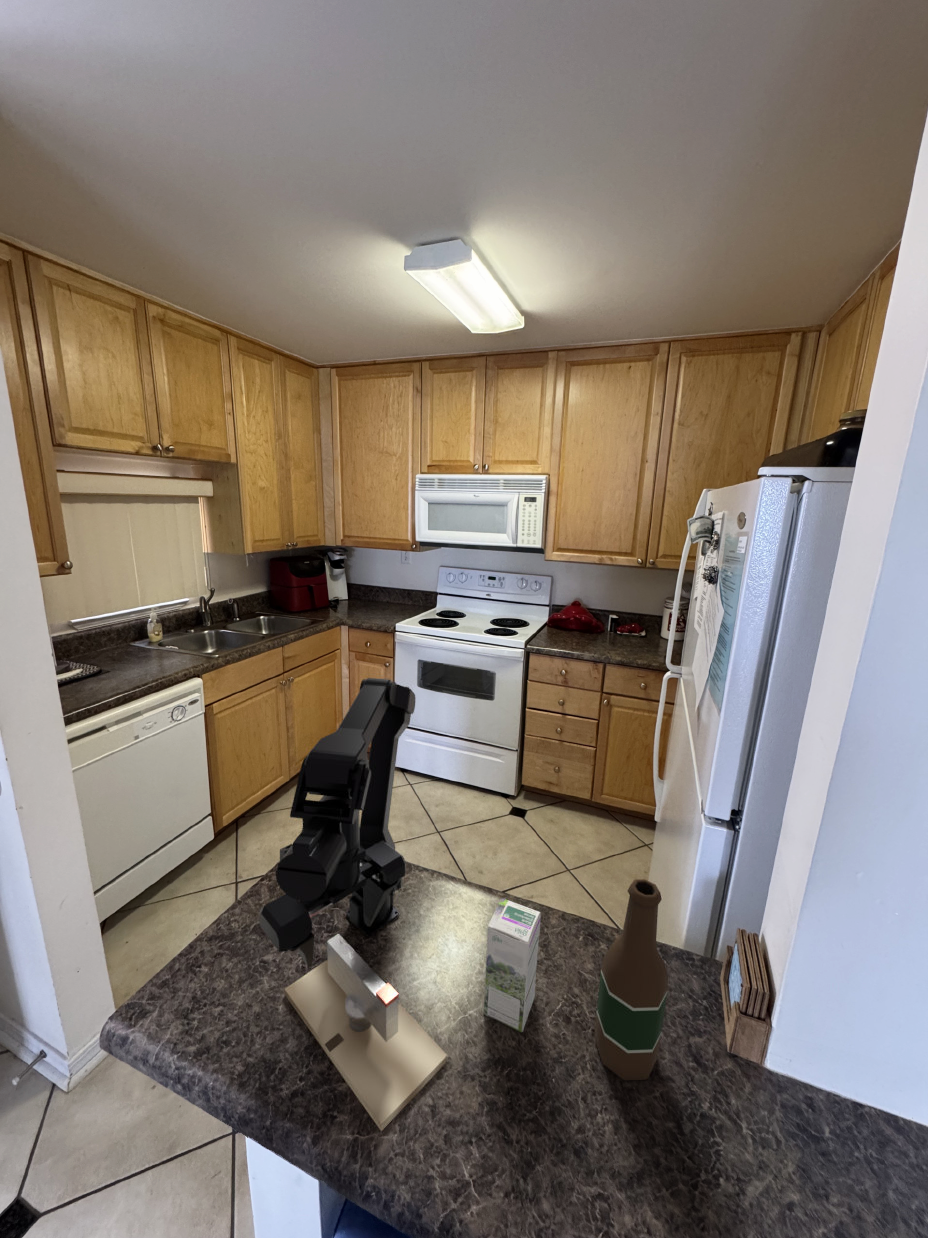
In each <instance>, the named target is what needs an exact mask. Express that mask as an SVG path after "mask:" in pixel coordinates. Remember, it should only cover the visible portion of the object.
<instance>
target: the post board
mask: <svg viewBox="0 0 928 1238" xmlns="http://www.w3.org/2000/svg"><path fill="white" fill-rule="evenodd" d="M284 996H285V998H286V999H287V1000H288V1002H289V1003H290V1004H291V1006H292V1007H293V1008H294V1009H295V1011H296V1013H297V1015H299V1017H300V1019H301V1020H302V1021H303V1022H304V1024H305V1026H306V1027H307V1029H309V1031H310V1032H311V1034H312V1035H313V1037H314V1038H315V1040H316V1041H317V1043H318V1044H319V1045H320V1046H321V1048H322V1050H323V1051H324V1052H325V1054H326V1055H327V1057H328V1058H329V1060H330V1061H331V1062H332V1064H333V1065H334V1066H335V1069H337V1071H338V1072H339V1074H340V1076H341V1077H342V1078H343V1080H344V1081H345V1082H346V1084H347V1085H348V1086H349V1088H350V1089H351V1091H352V1092H353V1094H354V1095H355V1096H356V1098H357V1099H358V1101H359V1102H360V1104H361V1105H362V1106H363V1108H364V1109H365V1110H366V1112H367V1113H368V1115H369V1116H370V1118H371V1119H372V1121H373V1122H374V1123H375V1125H376V1126H377V1128H378V1129H379V1130H380V1132H382V1131H384V1129H385V1128H386V1127H387V1126H388V1125H389V1124H390V1123H391V1122H392V1121H393V1120H394V1119H395V1118H396V1116H398V1114H399V1113H401V1111H402V1110H403V1109H404V1108H405V1107H406V1106H407V1105H408V1104H409V1103H410V1102H411V1101H412V1099H414V1098H415V1096H417V1094H418V1093H419V1092H421V1090H422V1089H423V1088H424V1087H425V1086H426V1084H428V1082H430V1081H431V1079H432V1078H433V1077H435V1076H436V1075H437V1073H438V1072H439V1071H441V1069H442V1068H443V1067H444V1066H445V1065H446V1064H447V1062H448V1054H447V1053H446V1052H445V1051H444V1050H443V1049H442V1048H441V1047H440V1045H438V1043H436V1041H435V1040H434V1039H433V1038H432V1037H431V1036H430V1034H428V1033H427V1032H426V1030H424V1028H423V1027H422V1026H421V1025H420V1024H419V1023H418V1022H417V1021H416V1019H415V1018H414V1017H413V1016H412V1015H411V1014H410V1013H409V1012H408V1011H407V1010H406V1009H405V1008H404V1006H402V1005H401V1003H400V1002H399V1001H398V1032H397V1033H396V1034H395V1035H394V1036H393V1037H392V1038H391V1039H389V1040H388V1041H387V1042H386V1041H385V1040H384V1039H383V1038H382V1037H381V1035H380V1034H379V1033H378V1032H377V1031H376V1029H375V1028H374V1027H373V1026H372V1025H371V1023H370V1022H369V1021H368V1020H365V1021H361V1022H355V1021H352V1020H350V1019H349V1018H348V1017H347V1015H346V1012H345V1000H346V997H347V995H346V993H345V992H344V991H343V990H342V988H341V987H340V986H339V985H338V984H337V982H336V981H335V980H334V979H333V978H332V976H331V975H330V974H329V973H328V959H327V960H324V961H323V962H322V963H320V964H319V965H318V966H316V967H314V968H313V969H312V970H310V971H308V972H307V973H306V974H305V975H303V976H302V977H300V978H298V979H297V980H296V981H294V982H293V983H291V984H290V985H288V986H287V987H286V988H284Z"/></svg>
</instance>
